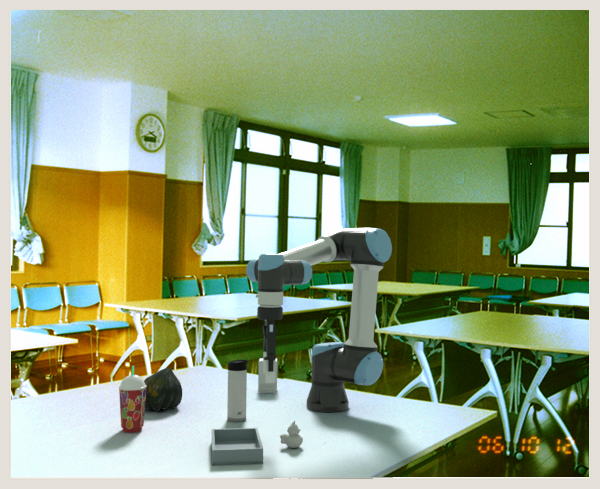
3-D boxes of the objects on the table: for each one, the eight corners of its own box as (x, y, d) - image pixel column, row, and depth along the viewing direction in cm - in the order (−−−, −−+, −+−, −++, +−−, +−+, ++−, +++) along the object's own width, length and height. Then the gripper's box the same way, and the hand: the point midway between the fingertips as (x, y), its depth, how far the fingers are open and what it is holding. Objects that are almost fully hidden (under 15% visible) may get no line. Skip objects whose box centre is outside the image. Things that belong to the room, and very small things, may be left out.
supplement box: (276, 393, 253) (276, 361, 253) (257, 393, 253) (258, 361, 253) (277, 389, 260) (277, 357, 260) (259, 389, 260) (259, 357, 260)
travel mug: (244, 422, 211) (244, 361, 211) (224, 421, 212) (225, 360, 212) (249, 417, 217) (250, 358, 217) (230, 416, 218) (231, 357, 218)
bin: (257, 441, 191) (257, 427, 191) (263, 463, 172) (263, 448, 172) (211, 442, 189) (211, 429, 189) (212, 465, 170) (212, 450, 170)
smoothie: (151, 428, 204) (152, 364, 204) (136, 435, 196) (137, 369, 196) (128, 425, 206) (129, 362, 206) (112, 432, 198) (113, 367, 198)
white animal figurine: (303, 450, 184) (303, 422, 184) (280, 450, 183) (280, 422, 183) (302, 444, 189) (302, 417, 189) (279, 444, 189) (279, 417, 189)
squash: (124, 394, 225) (149, 364, 221) (150, 387, 238) (174, 359, 235) (149, 425, 220) (175, 395, 217) (173, 416, 234) (198, 388, 231)
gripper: (255, 302, 203) (254, 369, 203) (259, 309, 178) (257, 386, 178) (279, 302, 204) (278, 369, 204) (286, 310, 179) (284, 386, 179)
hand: (268, 377), depth 191 cm, fingers open, 13 cm apart
